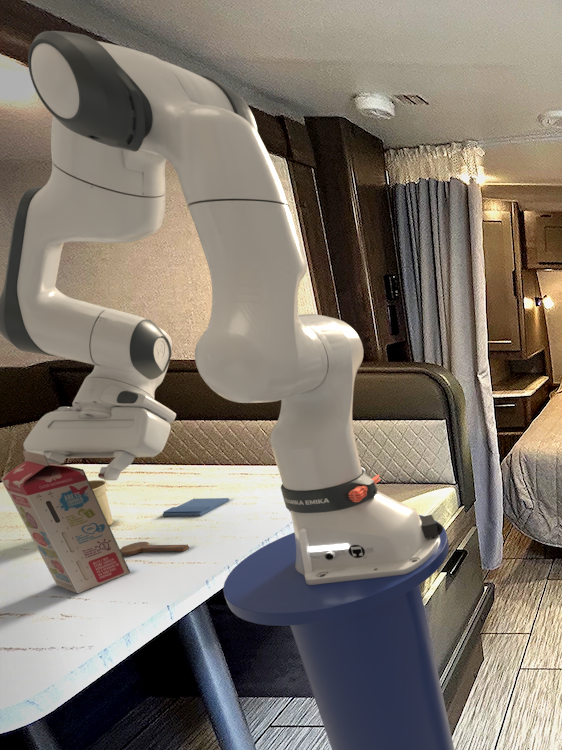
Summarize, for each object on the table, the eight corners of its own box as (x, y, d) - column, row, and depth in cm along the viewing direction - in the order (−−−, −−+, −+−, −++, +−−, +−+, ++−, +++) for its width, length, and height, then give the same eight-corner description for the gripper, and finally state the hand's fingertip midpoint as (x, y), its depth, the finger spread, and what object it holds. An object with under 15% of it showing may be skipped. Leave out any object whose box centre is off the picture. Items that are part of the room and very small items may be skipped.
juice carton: (109, 565, 87) (52, 444, 79) (130, 572, 84) (73, 448, 76) (56, 585, 81) (-11, 457, 73) (77, 593, 79) (10, 462, 71)
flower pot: (45, 535, 98) (24, 495, 95) (105, 515, 106) (88, 477, 103) (76, 542, 95) (55, 500, 92) (135, 520, 104) (118, 482, 100)
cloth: (229, 500, 113) (228, 496, 112) (200, 515, 105) (199, 512, 105) (194, 501, 113) (193, 497, 112) (163, 516, 105) (161, 512, 105)
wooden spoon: (195, 544, 93) (194, 540, 93) (177, 555, 90) (175, 551, 89) (135, 545, 94) (133, 541, 93) (114, 556, 90) (112, 552, 89)
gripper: (32, 397, 83) (-9, 472, 78) (154, 395, 83) (120, 470, 78) (72, 416, 89) (36, 488, 84) (186, 414, 89) (157, 486, 84)
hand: (78, 479), depth 81 cm, fingers open, 8 cm apart
